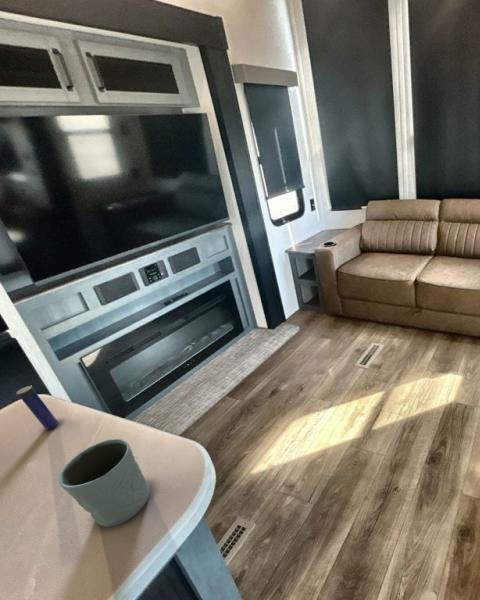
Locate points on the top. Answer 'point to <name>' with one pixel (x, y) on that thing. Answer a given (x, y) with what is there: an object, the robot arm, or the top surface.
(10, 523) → the top surface
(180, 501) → the top surface
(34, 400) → the marker
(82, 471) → the grey-green cup
